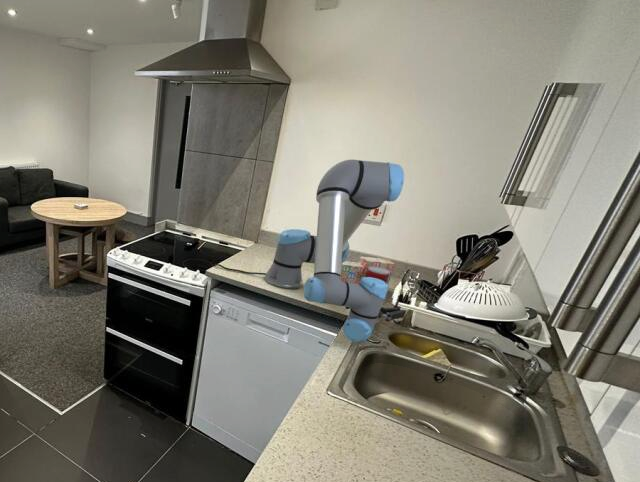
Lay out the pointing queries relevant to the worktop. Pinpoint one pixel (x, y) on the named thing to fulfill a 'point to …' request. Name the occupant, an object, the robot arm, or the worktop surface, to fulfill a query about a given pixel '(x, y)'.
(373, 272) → the canned food
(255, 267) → the worktop surface
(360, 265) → the stack of blocks
